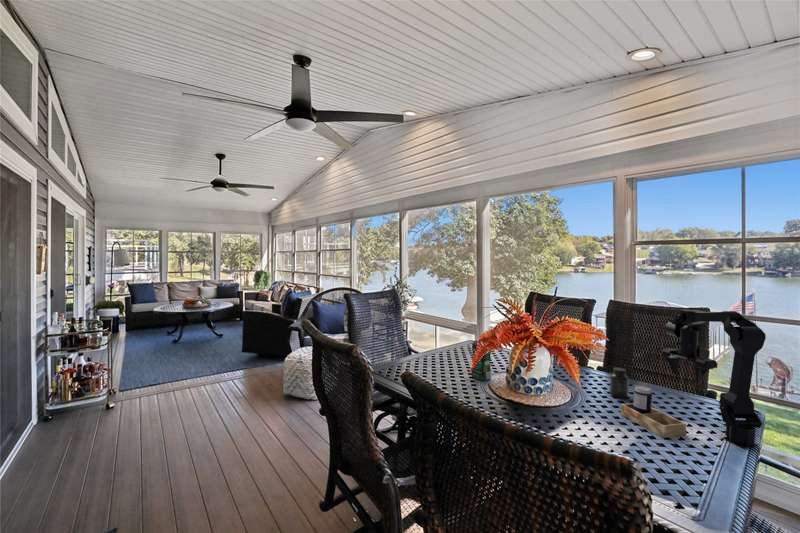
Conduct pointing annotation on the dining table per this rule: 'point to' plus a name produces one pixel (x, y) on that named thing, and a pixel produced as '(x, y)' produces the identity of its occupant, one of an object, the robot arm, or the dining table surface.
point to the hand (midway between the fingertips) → (686, 378)
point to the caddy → (655, 421)
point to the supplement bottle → (619, 383)
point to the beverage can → (642, 399)
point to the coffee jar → (481, 366)
